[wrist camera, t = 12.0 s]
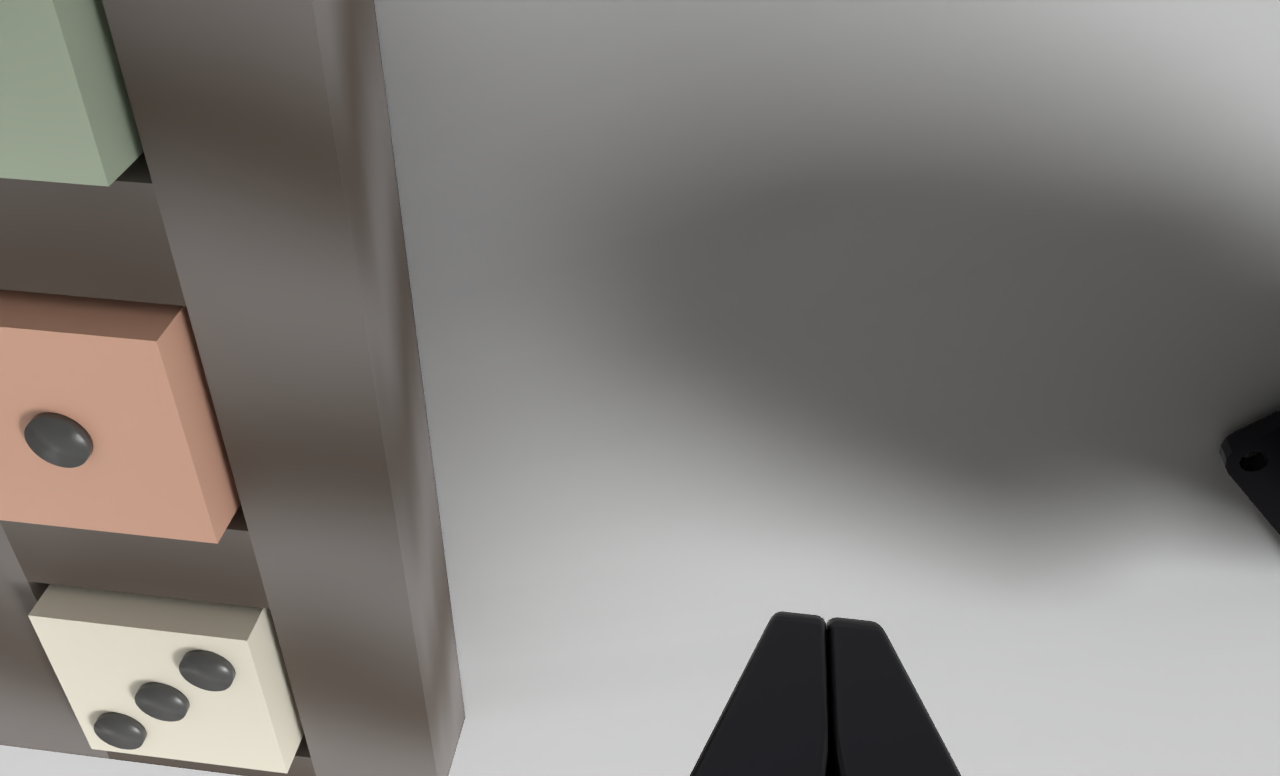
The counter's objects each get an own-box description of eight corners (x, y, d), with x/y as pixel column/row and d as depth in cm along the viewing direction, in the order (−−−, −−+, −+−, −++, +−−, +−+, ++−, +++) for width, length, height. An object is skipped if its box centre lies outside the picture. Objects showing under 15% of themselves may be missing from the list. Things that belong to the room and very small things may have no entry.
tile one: (-12, 224, 23) (-122, 322, 20) (231, 244, 22) (151, 348, 20) (63, 417, 26) (-25, 524, 23) (277, 439, 25) (213, 551, 23)
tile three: (99, 513, 28) (22, 622, 25) (299, 534, 27) (243, 648, 25) (150, 646, 31) (87, 756, 28) (331, 667, 30) (284, 780, 28)
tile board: (-449, -350, 17) (-612, -328, 15) (332, -319, 16) (265, -291, 14) (43, 667, 32) (-7, 744, 30) (465, 717, 31) (440, 800, 29)
